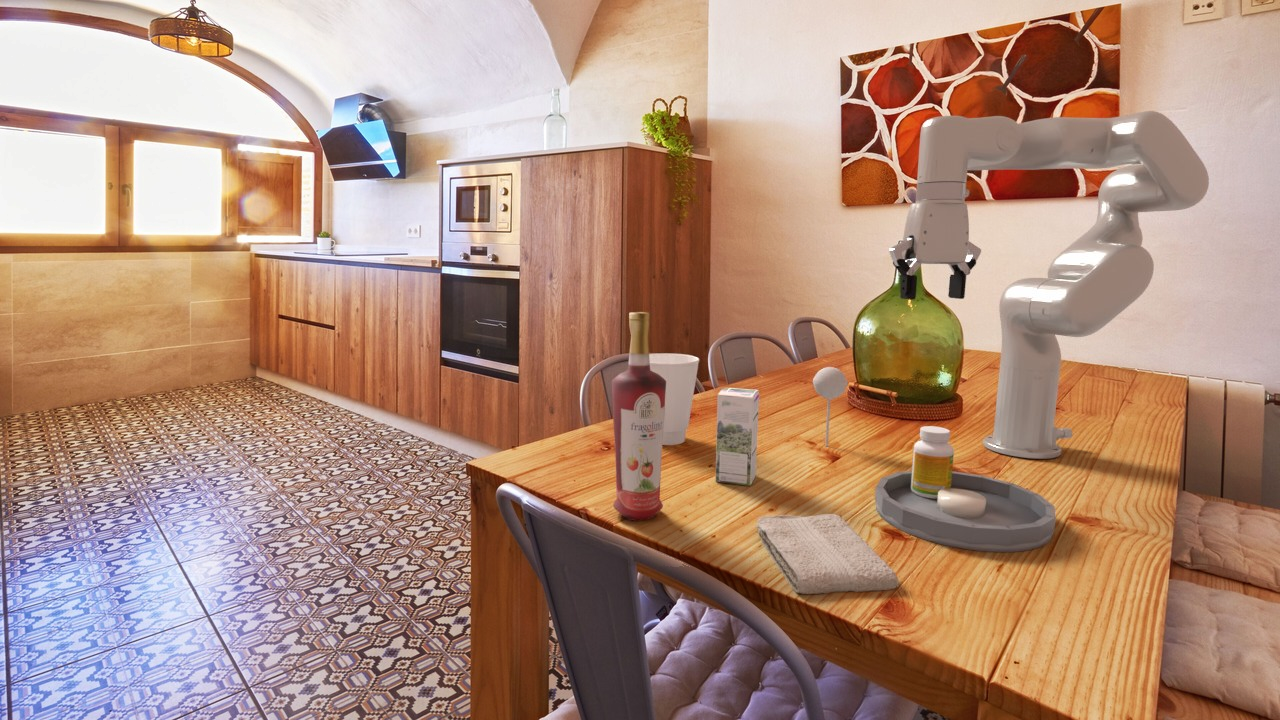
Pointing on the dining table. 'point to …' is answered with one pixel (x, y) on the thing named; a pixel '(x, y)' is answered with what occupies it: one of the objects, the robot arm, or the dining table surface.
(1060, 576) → the dining table surface
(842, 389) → the lollipop
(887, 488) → the ring tray
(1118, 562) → the dining table surface
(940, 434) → the supplement bottle
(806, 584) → the washcloth
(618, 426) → the liquor
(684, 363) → the cup
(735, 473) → the syrup box
